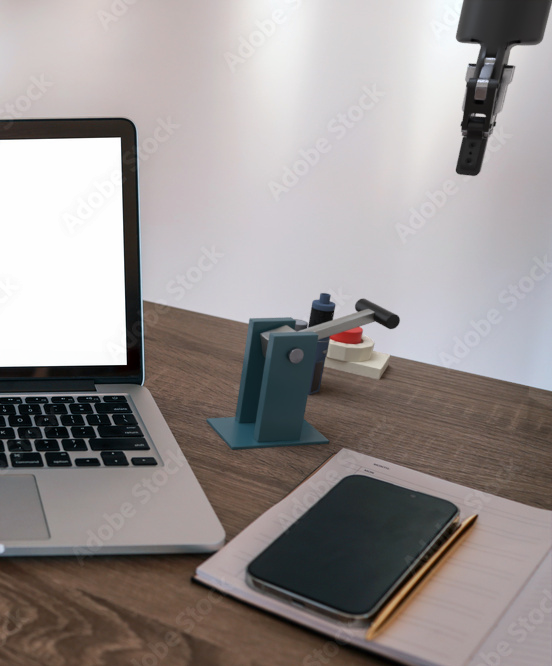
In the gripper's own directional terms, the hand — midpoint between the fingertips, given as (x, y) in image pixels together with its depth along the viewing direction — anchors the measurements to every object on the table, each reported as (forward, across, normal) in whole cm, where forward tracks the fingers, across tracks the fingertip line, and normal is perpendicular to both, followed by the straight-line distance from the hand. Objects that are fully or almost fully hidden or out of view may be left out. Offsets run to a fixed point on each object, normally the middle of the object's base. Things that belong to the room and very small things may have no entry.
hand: (467, 174), depth 80 cm
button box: (+25, +3, +9) cm, 27 cm away
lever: (+15, -19, +7) cm, 25 cm away
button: (+21, +3, +9) cm, 23 cm away
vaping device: (+25, -9, +11) cm, 29 cm away
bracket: (+25, -22, +11) cm, 35 cm away
